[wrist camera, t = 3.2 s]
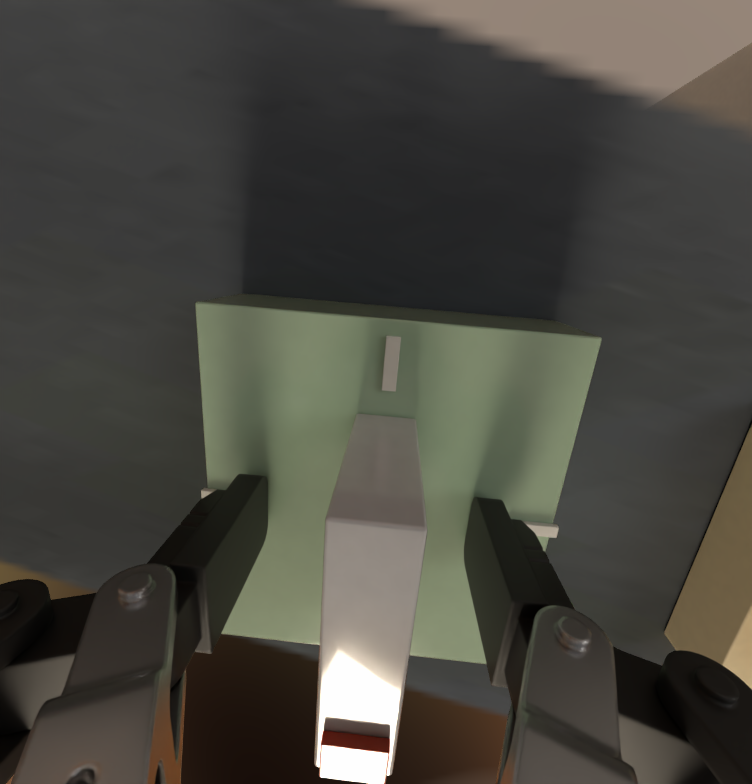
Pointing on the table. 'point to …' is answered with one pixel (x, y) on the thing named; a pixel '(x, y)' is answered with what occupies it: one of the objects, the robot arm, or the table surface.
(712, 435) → the table surface
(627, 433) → the table surface
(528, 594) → the robot arm
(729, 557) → the drain housing
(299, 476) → the base
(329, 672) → the tap handle
